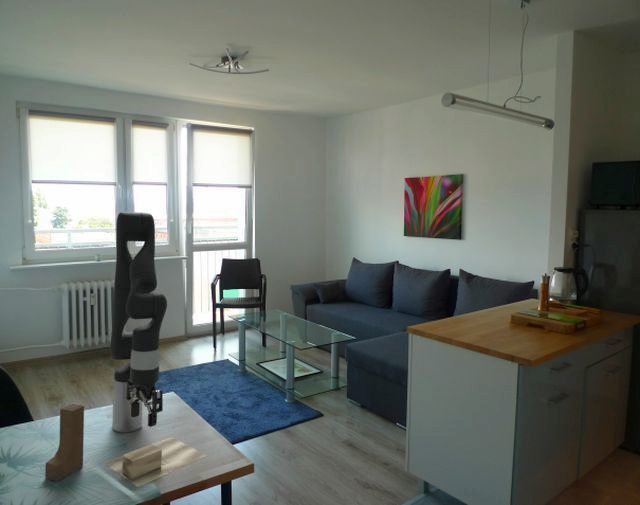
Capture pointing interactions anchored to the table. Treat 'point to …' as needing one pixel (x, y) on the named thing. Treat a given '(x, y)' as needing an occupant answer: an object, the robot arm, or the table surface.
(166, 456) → the board
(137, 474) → the block
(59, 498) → the table surface
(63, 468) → the wooden block
